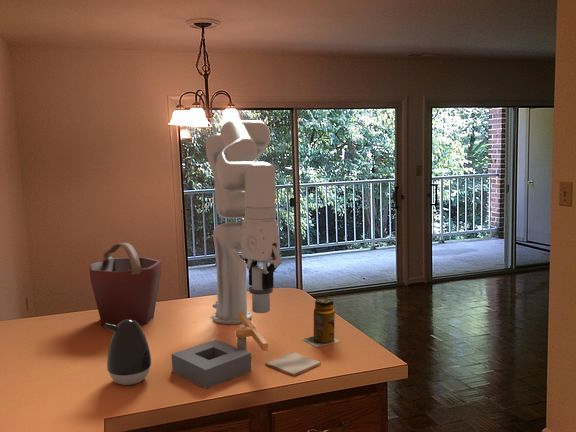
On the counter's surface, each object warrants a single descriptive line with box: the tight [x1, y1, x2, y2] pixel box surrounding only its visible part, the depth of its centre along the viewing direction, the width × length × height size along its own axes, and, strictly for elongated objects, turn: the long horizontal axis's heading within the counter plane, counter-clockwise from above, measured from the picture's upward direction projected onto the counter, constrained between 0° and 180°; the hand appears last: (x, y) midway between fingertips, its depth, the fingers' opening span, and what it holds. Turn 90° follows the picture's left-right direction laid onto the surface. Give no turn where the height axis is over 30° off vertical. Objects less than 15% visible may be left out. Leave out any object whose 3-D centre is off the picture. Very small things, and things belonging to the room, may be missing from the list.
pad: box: [265, 351, 322, 377], centre depth 137 cm, size 10×10×1 cm
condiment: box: [302, 297, 341, 348], centre depth 153 cm, size 7×8×12 cm
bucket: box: [88, 242, 162, 328], centre depth 172 cm, size 24×22×25 cm
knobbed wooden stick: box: [235, 312, 269, 352], centre depth 140 cm, size 5×26×2 cm, turn 18°
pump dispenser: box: [104, 319, 152, 386], centre depth 127 cm, size 10×10×15 cm
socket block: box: [171, 337, 252, 390], centre depth 134 cm, size 14×20×6 cm
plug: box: [248, 265, 274, 314], centre depth 132 cm, size 6×6×11 cm
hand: (261, 285), depth 132 cm, fingers closed on plug, 4 cm apart
